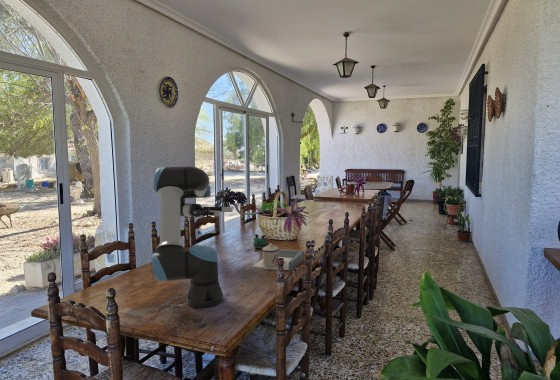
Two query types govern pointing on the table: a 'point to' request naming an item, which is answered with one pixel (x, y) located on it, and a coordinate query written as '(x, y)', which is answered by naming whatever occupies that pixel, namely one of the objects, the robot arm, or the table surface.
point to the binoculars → (259, 243)
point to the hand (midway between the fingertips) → (226, 211)
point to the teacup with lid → (270, 255)
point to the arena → (285, 259)
